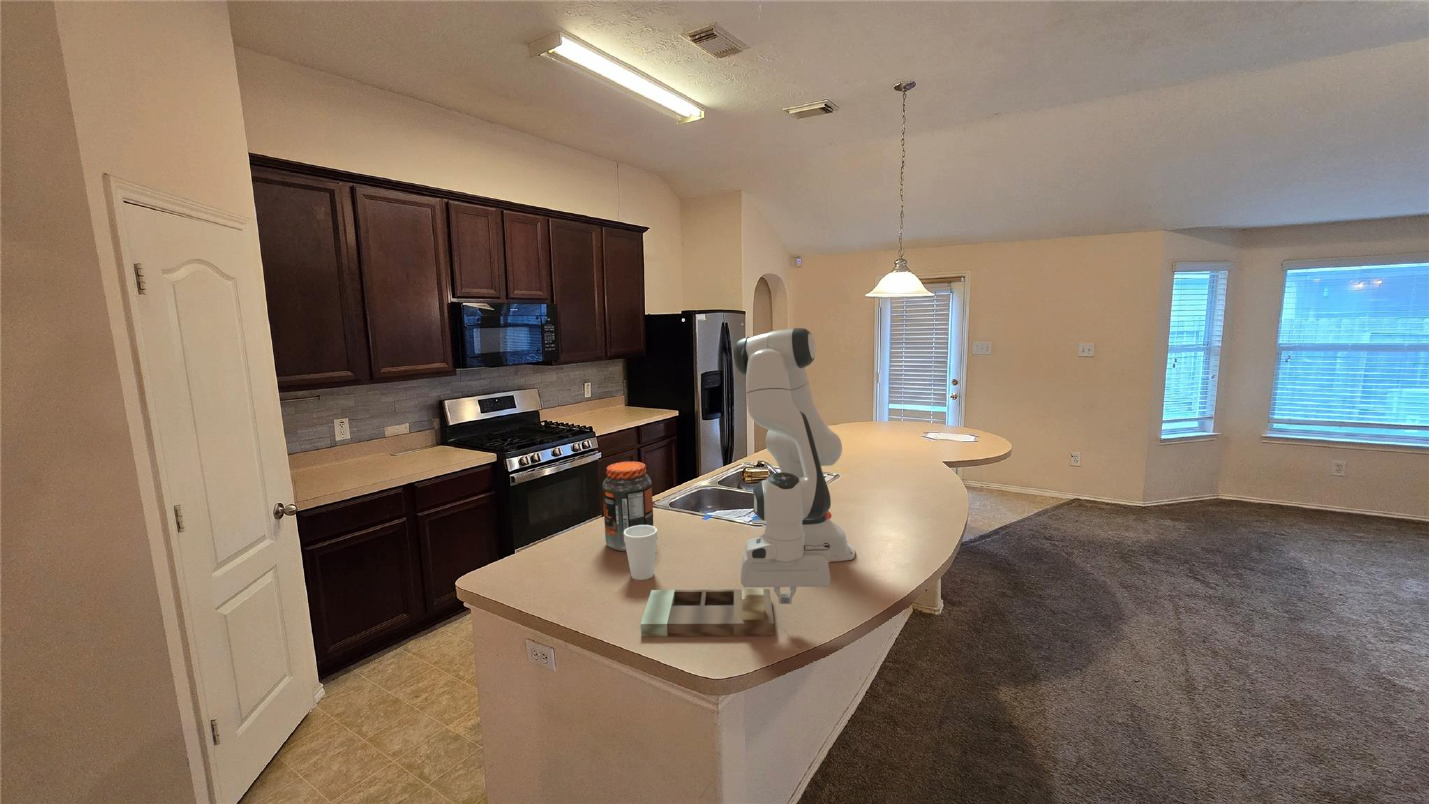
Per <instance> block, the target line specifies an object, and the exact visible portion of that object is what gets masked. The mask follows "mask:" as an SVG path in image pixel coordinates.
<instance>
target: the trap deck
mask: <svg viewBox="0 0 1429 804" xmlns="http://www.w3.org/2000/svg"><path fill="white" fill-rule="evenodd" d="M742 589H743V588H741V589H740V588H739V589H734V588H733V589H730V588H729V589H728V588H727V589H725V588H723V589H651V590H650V594H649V596H648V600H647V603H646V605H645V609H644V612H643V615H642V618H641V622H640V637H768V636H767V635H770V636H769V637H773V636H772V635H774V636H775V622H774V614H773V606H772V598H771V589H770V588H763V592H764V618H765V620H742ZM763 635H765V636H763Z"/></svg>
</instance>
